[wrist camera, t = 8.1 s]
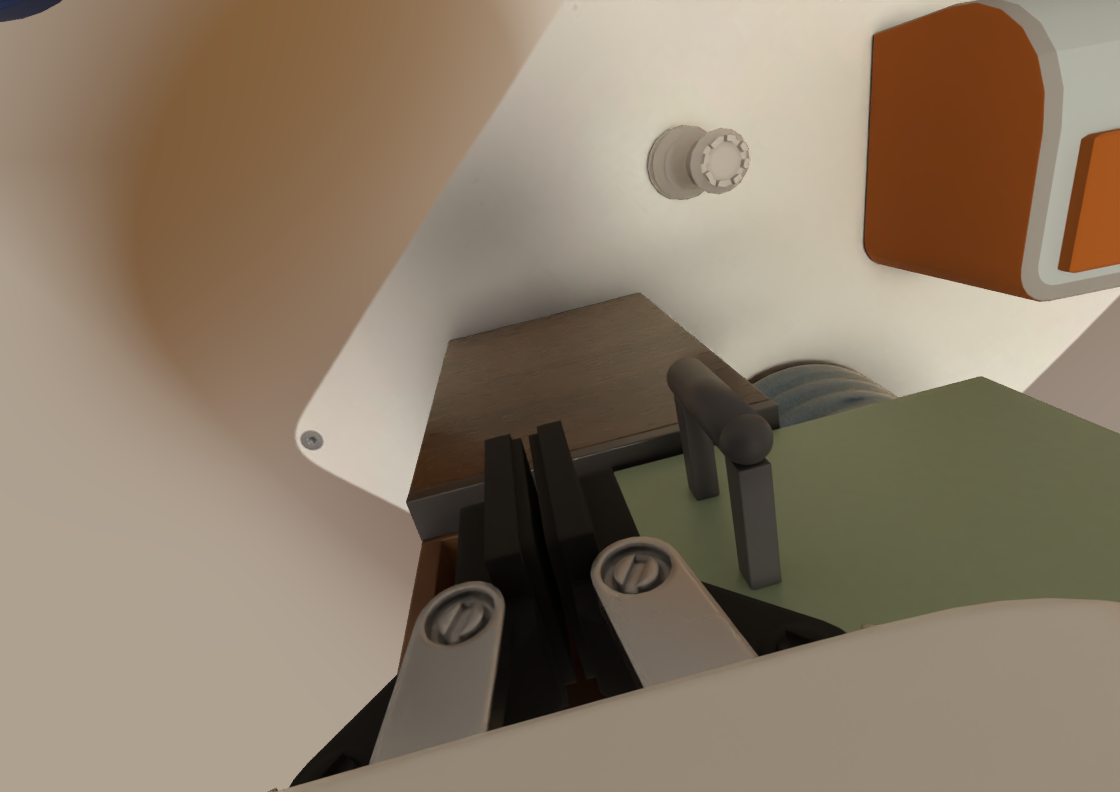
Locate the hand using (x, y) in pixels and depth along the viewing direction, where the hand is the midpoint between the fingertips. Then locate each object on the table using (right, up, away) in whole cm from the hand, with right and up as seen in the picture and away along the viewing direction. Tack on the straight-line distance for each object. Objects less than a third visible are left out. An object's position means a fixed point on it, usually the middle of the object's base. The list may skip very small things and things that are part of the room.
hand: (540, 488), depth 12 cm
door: (+9, +3, +7) cm, 12 cm away
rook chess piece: (+8, +17, +24) cm, 31 cm away
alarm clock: (+25, +19, +26) cm, 41 cm away
